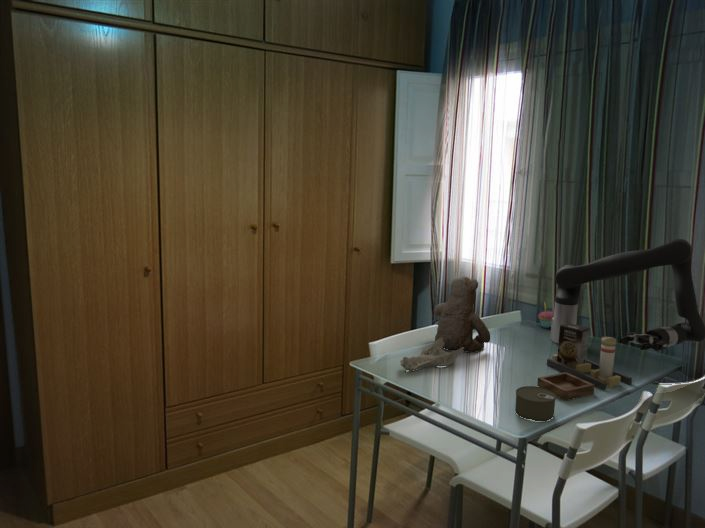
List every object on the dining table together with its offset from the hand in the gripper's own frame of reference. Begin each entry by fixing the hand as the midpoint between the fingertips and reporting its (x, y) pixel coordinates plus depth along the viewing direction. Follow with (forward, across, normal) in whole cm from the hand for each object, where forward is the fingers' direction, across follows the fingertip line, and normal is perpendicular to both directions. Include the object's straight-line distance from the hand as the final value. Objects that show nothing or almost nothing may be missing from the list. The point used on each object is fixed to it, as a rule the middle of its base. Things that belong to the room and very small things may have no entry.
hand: (631, 343), depth 218 cm
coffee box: (+11, -16, +12) cm, 24 cm away
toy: (+36, -54, +12) cm, 66 cm away
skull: (+60, -39, +12) cm, 73 cm away
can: (+53, +10, +13) cm, 56 cm away
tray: (+30, 0, +12) cm, 33 cm away
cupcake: (-19, -60, +12) cm, 64 cm away
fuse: (+11, 0, +13) cm, 17 cm away
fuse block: (+11, -9, +12) cm, 19 cm away
